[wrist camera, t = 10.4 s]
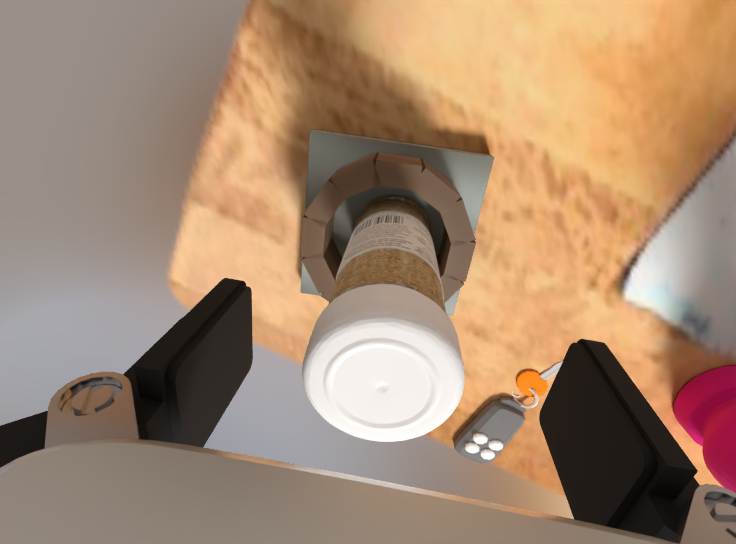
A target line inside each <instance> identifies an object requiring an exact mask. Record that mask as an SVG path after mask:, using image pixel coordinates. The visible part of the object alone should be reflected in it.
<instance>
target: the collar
mask: <svg viewBox="0 0 736 544" xmlns="http://www.w3.org/2000/svg"><path fill="white" fill-rule="evenodd" d="M493 160H494V157H493V156H492V155H489V154H482V153H475V152H468V151H461V150H454V149H447V148H440V147H433V146H426V145H419V144H412V143H405V142H398V141H391V140H384V139H377V138H370V137H363V136H356V135H349V134H342V133H335V132H328V131H321V130H311V131H310V136H309V154H308V171H307V189H306V206H305V213H304V216H303V221H302V239H301V257H303V258H302V259H301V260H302V276H301V293H306V294H313V295H319V296H322V297H323V298H325V299H326V300H327V301H329V302H330V298H331V295H332V293H333V290H334V287H335V281H336V275H337V272H338V269H339V267H340V264H341V261H342V259H343V256H344V253H345V251H346V248H347V246H348V243H349V240H350V238H351V235H352V233H353V231H354V226H355V222H356V220H357V217H358V215H359V213H360V212H361V211H362V210H363V209H364V207H365V206H366V205H367V204H369V203H370V202H371V201H373V200H375V199H377V198H379V197H385V196H389V195H392V196H395V195H399V196H403V197H406V198H408V199H411V200H412V201H414V202H416V203H417V204H418V205H419V206H420V207H421V208H422V209H423V210H424V211H425V213H426V214H427V217H428V219H429V221H430V225H431V237H432V240H433V244H434V249H435V254H436V259H437V264H438V269H439V273H440V278H441V282H442V287H443V294H444V304H445V307H446V313H447V315H450V316H453V314H454V310H455V306H456V302H457V298H458V295H459V291H460V288H461V287H462V286H463V285H464V283H463V281H465V282H466V278H467V274H468V270H469V267H470V263H471V259H472V255H473V252H474V248H475V244H476V242H475V240H476V239H475V236H474V233H475V229H476V225H477V222H478V218H479V214H480V210H481V206H482V202H483V198H484V195H485V191H486V187H487V183H488V179H489V175H490V172H491V168H492V164H493Z"/></svg>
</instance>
